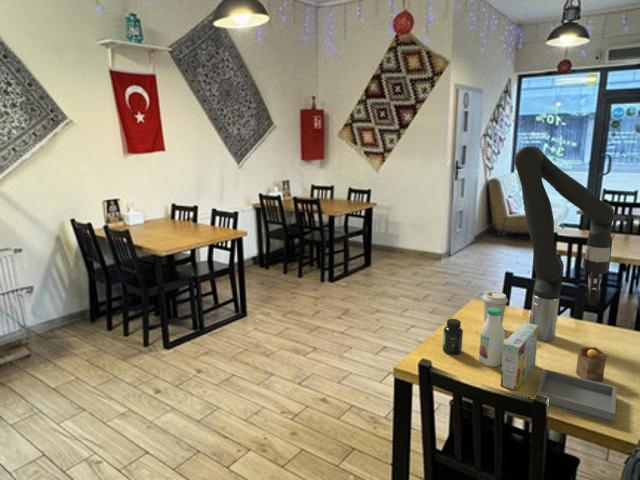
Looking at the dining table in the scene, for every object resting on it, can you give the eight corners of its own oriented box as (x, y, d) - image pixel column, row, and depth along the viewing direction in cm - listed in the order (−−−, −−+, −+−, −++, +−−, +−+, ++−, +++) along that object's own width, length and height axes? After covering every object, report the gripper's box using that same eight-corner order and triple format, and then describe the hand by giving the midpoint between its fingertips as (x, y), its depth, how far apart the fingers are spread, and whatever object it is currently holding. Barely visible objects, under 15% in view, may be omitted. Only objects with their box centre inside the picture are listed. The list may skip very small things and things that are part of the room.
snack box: (518, 360, 163) (522, 321, 160) (535, 365, 160) (540, 325, 156) (498, 385, 147) (502, 342, 144) (516, 391, 144) (521, 347, 140)
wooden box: (592, 372, 155) (595, 347, 152) (602, 381, 149) (606, 355, 147) (575, 373, 154) (579, 347, 152) (585, 382, 149) (589, 355, 147)
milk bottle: (501, 358, 165) (506, 306, 160) (502, 369, 157) (507, 314, 153) (478, 355, 167) (482, 304, 162) (478, 365, 160) (482, 312, 155)
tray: (535, 402, 138) (536, 391, 137) (543, 378, 151) (544, 369, 150) (613, 424, 128) (615, 413, 127) (614, 397, 140) (616, 386, 140)
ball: (586, 358, 150) (587, 350, 149) (586, 355, 152) (588, 346, 151) (596, 361, 148) (598, 352, 147) (597, 357, 151) (598, 349, 150)
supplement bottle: (440, 353, 169) (442, 323, 166) (444, 345, 175) (446, 316, 172) (459, 356, 166) (462, 326, 163) (462, 349, 172) (464, 319, 169)
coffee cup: (484, 322, 195) (487, 289, 192) (507, 327, 190) (510, 293, 187) (477, 330, 188) (479, 295, 184) (501, 336, 182) (504, 300, 179)
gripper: (584, 253, 173) (580, 294, 176) (585, 261, 161) (580, 305, 164) (608, 255, 169) (602, 297, 172) (610, 263, 157) (604, 308, 160)
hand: (591, 301), depth 168 cm, fingers open, 8 cm apart
